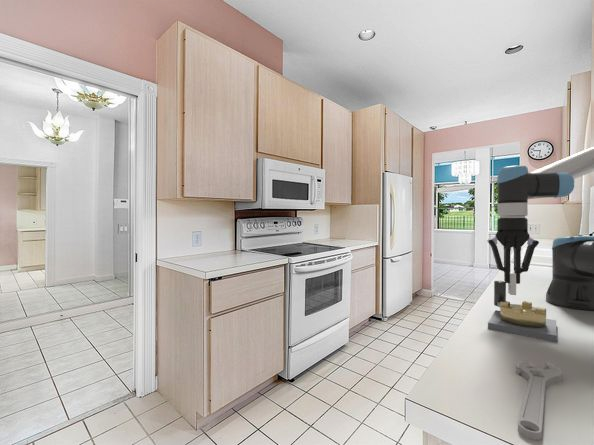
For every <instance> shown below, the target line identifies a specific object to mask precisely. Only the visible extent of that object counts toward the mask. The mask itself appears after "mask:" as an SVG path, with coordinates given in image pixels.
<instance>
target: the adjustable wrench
mask: <svg viewBox="0 0 594 445" xmlns="http://www.w3.org/2000/svg"><path fill="white" fill-rule="evenodd" d="M515 373H517V375H521V376H522V377H523V378H525V379H526V380H527V381H528V384H527V388H526V391H525V395H524V398H523V402H522V406H521V410H520V413H519V418H518V421H517V431H518V432H519V434H521V435H522V436H523V437H525V438H527V439H530V440H533V441H540V440H542V438H543V425H544V412H545V411H544V410H545V398H546V397H545V396H546V388H548V387H549V386H551V385H552V386H553V385H554V384H557V383H560V382H562V379H563V372H562V371H561V369H560V368H558V367H557V366H554V365H552V364H550V363H546V362H545V363H544V369H543V368H542V369H541V368H536V367H534V366H533V365H532V363H531V362H530V361H529V360H521V361H520V362H519V363H518V365H516V366H515Z"/></svg>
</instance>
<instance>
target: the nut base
mask: <svg viewBox="0 0 594 445" xmlns="http://www.w3.org/2000/svg"><path fill="white" fill-rule="evenodd" d="M487 329H491V330H495V331H501V332H504V333H505V332H506V333H509V334H516V335H520V336H526V337H529V338H530V337H531V338H535V339H539V340H540V339H541V340H544V341H545V340H546V341H550V342H555V343H557V341H558V337H557V335H558V333H557V320H556V319H551V318H550V319H549V318H546V326H543V327H528V326H521V325H516V324H512V323H509V322H506V321H504V320H502V319H501V318H500V310H497V309H496V310H494V312H493V313H492V315H491V317H490V318H489V320H488V322H487Z"/></svg>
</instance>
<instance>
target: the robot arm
mask: <svg viewBox="0 0 594 445" xmlns="http://www.w3.org/2000/svg"><path fill="white" fill-rule="evenodd" d="M593 172H594V146H592V147H590V148H588V149H587V148H586V149H585V150H582V151H580V152H578V153H575V154H573V155H571V156H568V157H566V158H563V159H561V160H558V161H556V162H554V163H551V164H549V165H546V166H544V167H542V168H541V167H540V168H539V169H536V170H534V171H532V172H529V168H528V167H527V166H526V165H510V166H509V165H508V166H504V167H501V168H500V169H499V170H497V178H496V179H497V180H496V184H497V186H496V187H497V188H496V189H497V217H498V218H497V220H496V221H497V224H496V226H497V229H496V230H497V232H496V233H495V236H494V237H492V238H488V239H487V241H486V242H487V243H488V245H490V248H491V251H492V254H493V259H494V262H495V265H496V268H497V270H499V271H501V272H503V274H504V275H503V278H504V279H503V280H504V282H506V284H507V289H508V290H507V293H508V294H509V295H511V296H517V284H518V285H520V283H521V274H522V273H526V272H528V271H529V268H530V265H531V262H532V258H533V254H534V253H535V252H534V251H535V248H536V247H538V245H539V243H540V241H539V240H537V239H536V240H535V239H534V238H532V237H530V234H529V231H528V230H529V229H528V228H529V226H528V225H529V223H528V222H529V221H528V220H529V219H528V218H527V216H528V210H529V209H528V207H529V206H528V200H533V199H545V198H556V199H558V198H565V197H568V196H569V195H571V194H572V193H573V191H574V188H575V180H576V179H578V178H580V177H583V176H586V175H589V174H590V173H593ZM498 242H499V243H500V244H501V246H502V247H503V262H502V259H501V256H500V252H499V248H498V246H497V245H498ZM525 243H526V244H527V247H526V250H525V253H524V257H523V260H521V259H522V254H521V253H522V247H523V246H524V245H525ZM512 248H513V271H511V251H512ZM551 250H552V257H551V258H552V260H551V261H552V263H551V265H552V267H551V270H552V272H551V273H552V279H551V282H550V284H549V286H548V288H547V291H546V293H545V300H546V302H548V303H551V304H553V305H556V306H560V307H565V308H570V309H577V310H586V311H594V236H591V235H590V236H589V235H588V236H587V235H586V236H585V235H583V236H580V235H579V236H562V237H561V236H560V237H556V238H554V239H553V241H552V247H551Z"/></svg>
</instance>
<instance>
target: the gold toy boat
mask: <svg viewBox="0 0 594 445" xmlns="http://www.w3.org/2000/svg"><path fill="white" fill-rule="evenodd" d="M493 287H494V288H493V296H494V297H493V305H494V306H495V307H498V308H499V311H500V318H501V319H502V320H504V321H506V322H509V323H512V324H516V325H521V326H528V327H543V326H546V319H547V308H544V307H540V306H537V307H534V306H533V302H531V301H525V300H523V301H522V302H521V304H516V303H515V304H514V303H511V302H510V301H507V283H506V282H505V281H503V280H494V282H493Z"/></svg>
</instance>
